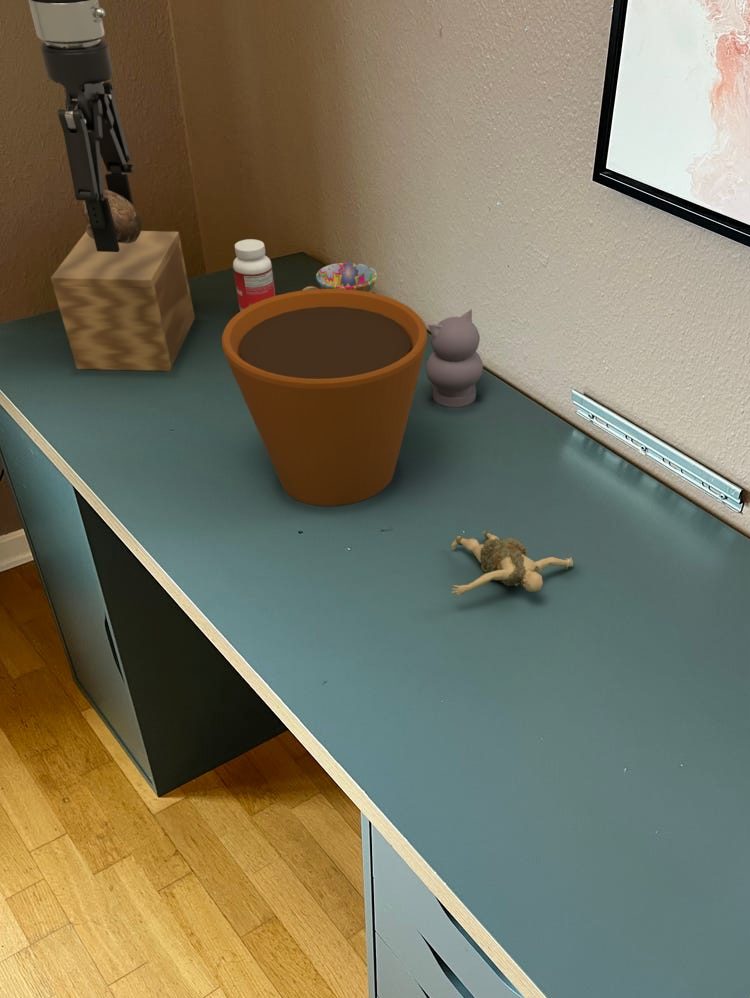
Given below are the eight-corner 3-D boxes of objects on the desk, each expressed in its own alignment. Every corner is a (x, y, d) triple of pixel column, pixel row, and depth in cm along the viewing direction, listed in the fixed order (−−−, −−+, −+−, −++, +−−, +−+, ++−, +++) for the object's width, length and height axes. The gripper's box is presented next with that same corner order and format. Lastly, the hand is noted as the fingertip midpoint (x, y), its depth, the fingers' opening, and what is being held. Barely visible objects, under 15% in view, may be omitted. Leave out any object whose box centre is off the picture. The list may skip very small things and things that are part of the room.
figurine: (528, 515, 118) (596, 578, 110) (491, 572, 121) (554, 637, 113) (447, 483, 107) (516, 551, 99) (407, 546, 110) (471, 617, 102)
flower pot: (371, 410, 137) (363, 273, 123) (463, 490, 123) (466, 346, 109) (216, 459, 127) (188, 316, 113) (298, 553, 113) (278, 402, 99)
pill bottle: (242, 303, 161) (231, 237, 154) (278, 303, 162) (270, 237, 154) (238, 319, 157) (227, 252, 149) (275, 319, 157) (267, 252, 150)
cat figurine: (448, 416, 136) (448, 337, 128) (414, 395, 141) (413, 317, 132) (493, 398, 141) (496, 320, 132) (459, 377, 145) (460, 301, 136)
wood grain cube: (76, 369, 143) (50, 277, 134) (109, 316, 157) (87, 229, 147) (170, 371, 144) (150, 279, 134) (195, 318, 157) (178, 231, 147)
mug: (372, 323, 157) (369, 259, 150) (386, 349, 151) (383, 283, 143) (300, 332, 154) (293, 267, 147) (311, 358, 148) (304, 292, 140)
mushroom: (58, 215, 124) (78, 175, 121) (105, 221, 131) (125, 183, 128) (95, 259, 123) (116, 221, 120) (140, 264, 130) (162, 227, 127)
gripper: (77, 64, 104) (124, 270, 119) (129, 22, 119) (165, 210, 135) (7, 61, 104) (64, 268, 119) (69, 19, 119) (112, 208, 134)
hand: (118, 237), depth 127 cm, fingers closed on mushroom, 8 cm apart
